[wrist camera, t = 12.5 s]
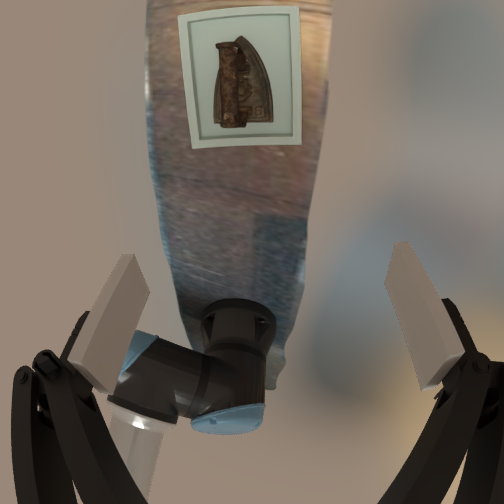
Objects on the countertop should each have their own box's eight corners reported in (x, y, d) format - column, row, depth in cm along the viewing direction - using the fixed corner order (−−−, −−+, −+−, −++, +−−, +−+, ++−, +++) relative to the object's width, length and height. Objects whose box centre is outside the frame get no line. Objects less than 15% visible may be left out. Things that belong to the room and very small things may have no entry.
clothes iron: (216, 128, 32) (185, 130, 24) (216, 45, 28) (185, 20, 19) (273, 127, 31) (262, 128, 22) (273, 41, 27) (262, 12, 18)
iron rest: (299, 139, 33) (301, 144, 31) (197, 142, 34) (192, 148, 32) (296, 9, 23) (298, 6, 21) (184, 18, 24) (177, 15, 22)
